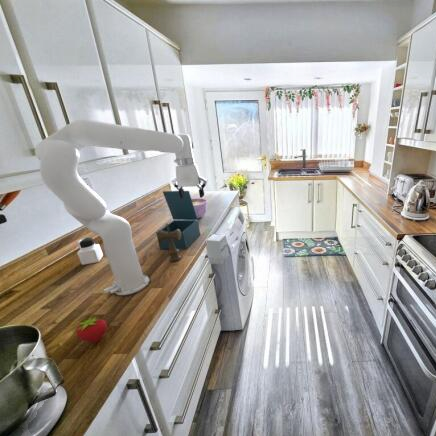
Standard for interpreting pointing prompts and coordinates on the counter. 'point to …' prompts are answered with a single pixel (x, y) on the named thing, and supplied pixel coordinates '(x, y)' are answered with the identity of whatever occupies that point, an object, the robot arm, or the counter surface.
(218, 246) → the white packaging box
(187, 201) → the dark teal box lid
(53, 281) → the counter surface
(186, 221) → the teal rectangular box
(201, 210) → the bowl of food
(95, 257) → the medicine bottle
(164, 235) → the kendama
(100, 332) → the strawberry
